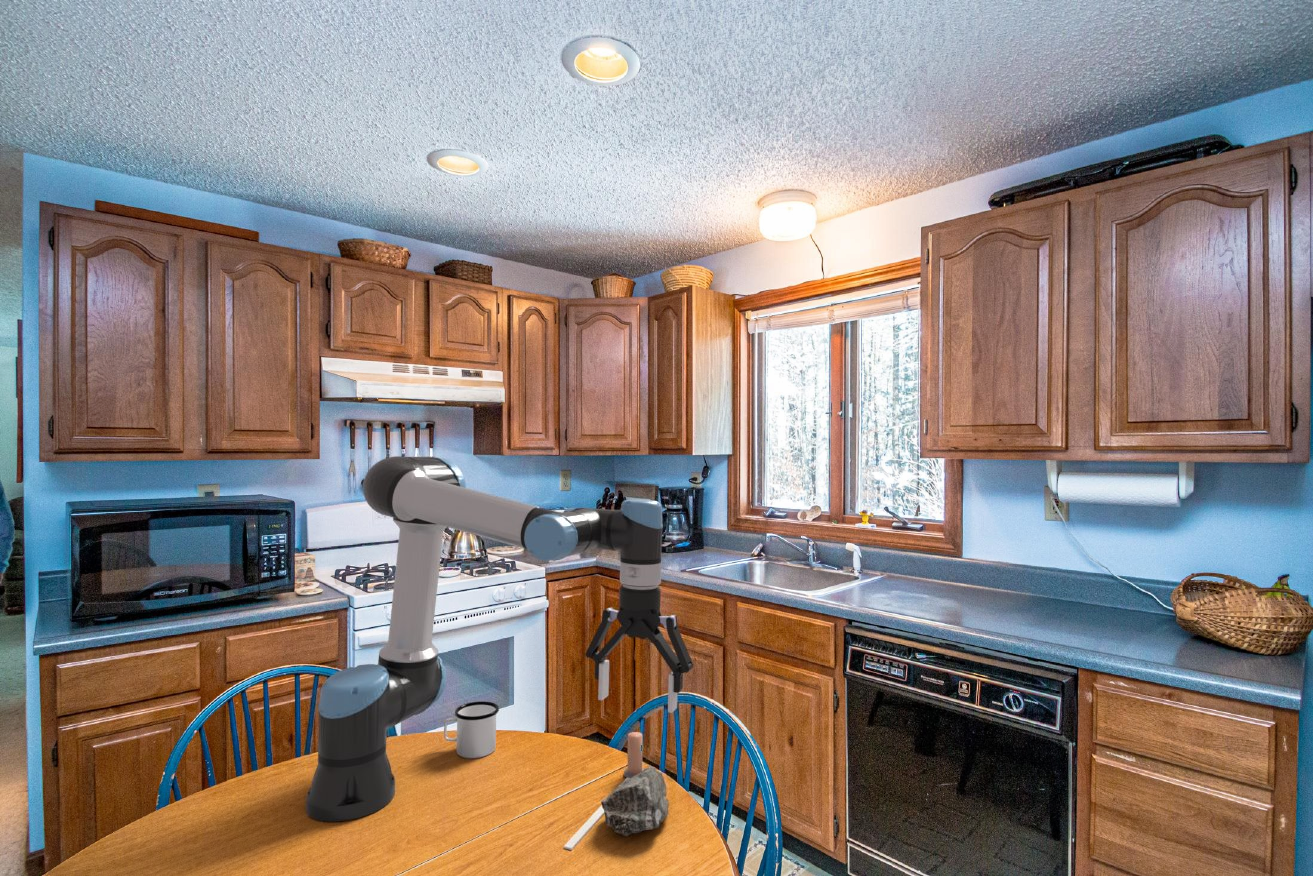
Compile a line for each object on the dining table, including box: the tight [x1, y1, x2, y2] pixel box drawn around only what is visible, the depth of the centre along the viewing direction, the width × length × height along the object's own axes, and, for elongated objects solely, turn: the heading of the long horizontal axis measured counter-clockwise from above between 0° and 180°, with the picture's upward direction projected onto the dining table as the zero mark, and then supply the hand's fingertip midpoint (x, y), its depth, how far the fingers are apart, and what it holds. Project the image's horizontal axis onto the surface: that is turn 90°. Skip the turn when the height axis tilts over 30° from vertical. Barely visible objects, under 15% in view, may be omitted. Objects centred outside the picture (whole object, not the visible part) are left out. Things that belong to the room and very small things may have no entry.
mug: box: [443, 700, 500, 759], centre depth 143 cm, size 12×10×9 cm
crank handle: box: [563, 731, 645, 851], centre depth 120 cm, size 4×30×8 cm, turn 158°
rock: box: [600, 765, 670, 837], centre depth 116 cm, size 18×10×10 cm
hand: (637, 704), depth 117 cm, fingers open, 13 cm apart
